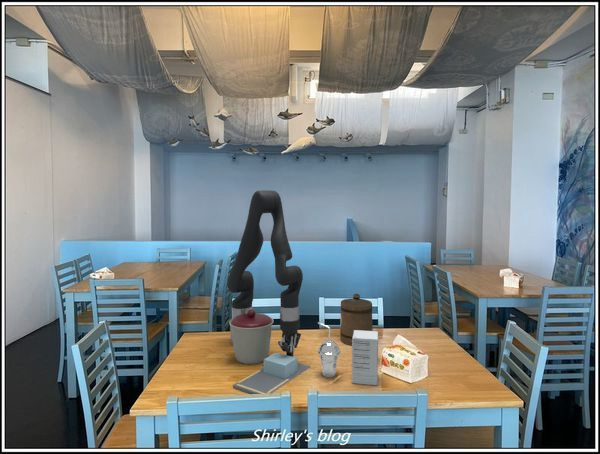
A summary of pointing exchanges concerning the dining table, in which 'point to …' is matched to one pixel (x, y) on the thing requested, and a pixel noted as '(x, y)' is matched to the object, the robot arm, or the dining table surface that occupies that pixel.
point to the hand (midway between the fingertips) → (289, 360)
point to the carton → (280, 365)
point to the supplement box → (365, 357)
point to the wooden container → (354, 317)
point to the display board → (266, 381)
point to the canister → (251, 336)
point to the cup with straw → (328, 356)
